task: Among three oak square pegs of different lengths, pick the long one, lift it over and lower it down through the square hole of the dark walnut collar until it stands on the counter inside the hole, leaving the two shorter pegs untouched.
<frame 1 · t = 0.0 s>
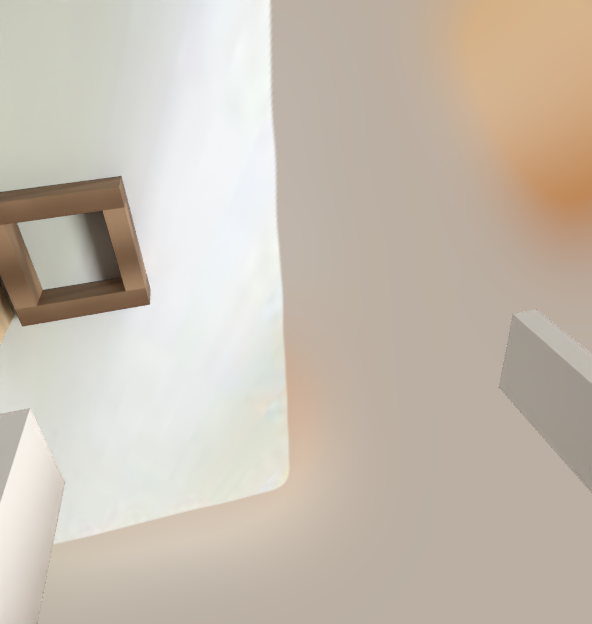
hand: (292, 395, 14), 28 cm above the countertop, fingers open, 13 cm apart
collar block: (73, 246, 39), on the countertop
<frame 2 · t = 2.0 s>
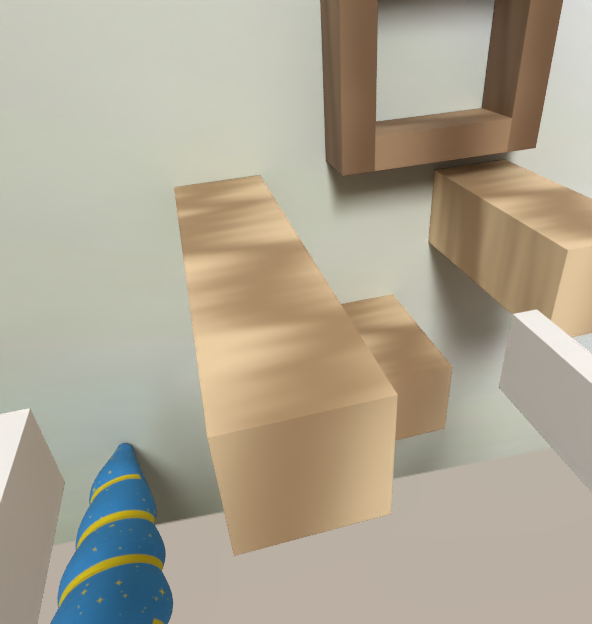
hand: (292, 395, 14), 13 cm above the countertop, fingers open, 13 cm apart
long pin: (223, 221, 25), on the countertop
medium pin: (465, 201, 27), on the countertop
collar block: (425, 39, 22), on the countertop
ornament: (121, 443, 30), on the countertop
short pin: (359, 329, 30), on the countertop
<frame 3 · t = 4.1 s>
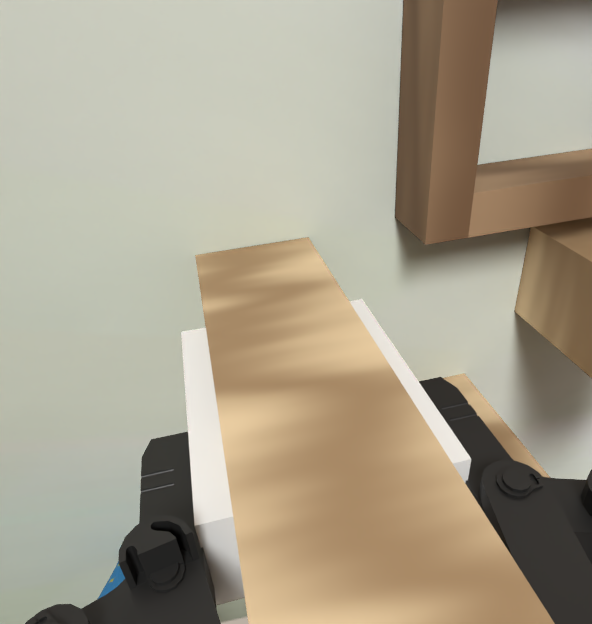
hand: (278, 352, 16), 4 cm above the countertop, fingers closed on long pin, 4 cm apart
long pin: (258, 295, 19), on the countertop, touching gripper
medium pin: (565, 262, 21), on the countertop
collar block: (537, 58, 17), on the countertop
ornament: (124, 551, 25), on the countertop
short pin: (421, 414, 24), on the countertop
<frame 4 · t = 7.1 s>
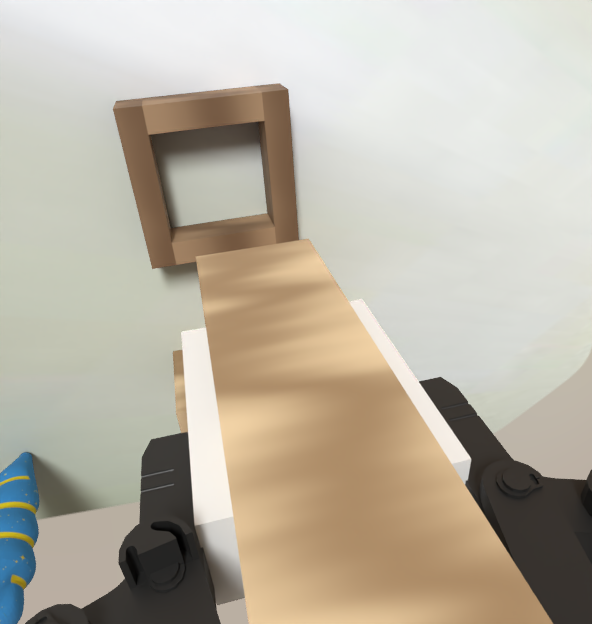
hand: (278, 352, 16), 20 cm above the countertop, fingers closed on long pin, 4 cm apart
long pin: (259, 296, 19), point 16 cm above the countertop, touching gripper
collar block: (212, 172, 32), on the countertop
ornament: (24, 452, 40), on the countertop
short pin: (203, 366, 40), on the countertop
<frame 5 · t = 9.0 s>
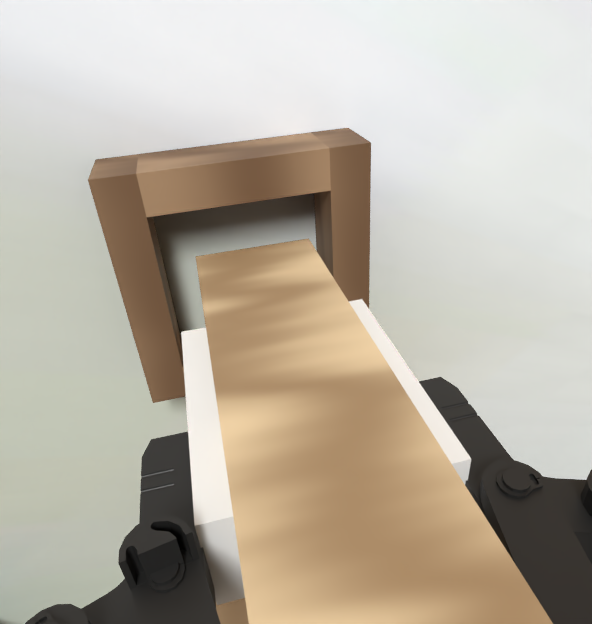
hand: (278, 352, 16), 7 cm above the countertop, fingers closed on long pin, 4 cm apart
long pin: (259, 296, 19), point 3 cm above the countertop, touching gripper
collar block: (242, 257, 21), on the countertop
short pin: (223, 500, 29), on the countertop
when the fingers open (5 cm above the countertop, at t = 10.6 s): long pin stays where it is, resting in collar block.
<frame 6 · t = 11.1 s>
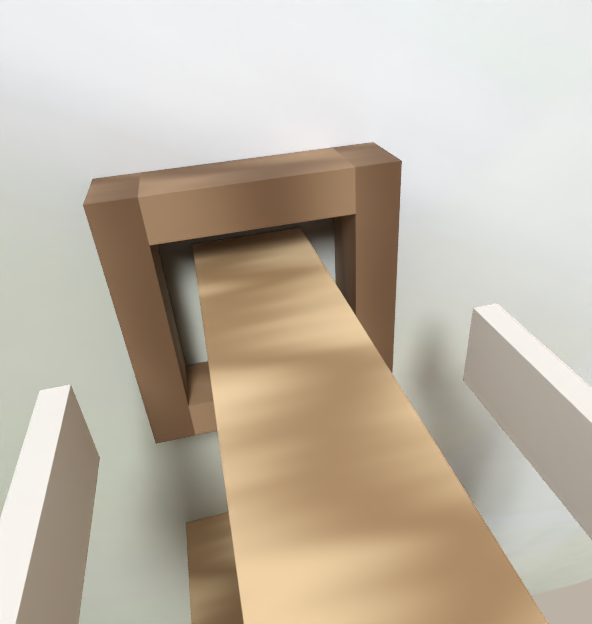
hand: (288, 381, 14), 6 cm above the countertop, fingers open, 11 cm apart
long pin: (253, 283, 20), resting in collar block
collar block: (254, 283, 20), on the countertop
short pin: (230, 536, 27), on the countertop
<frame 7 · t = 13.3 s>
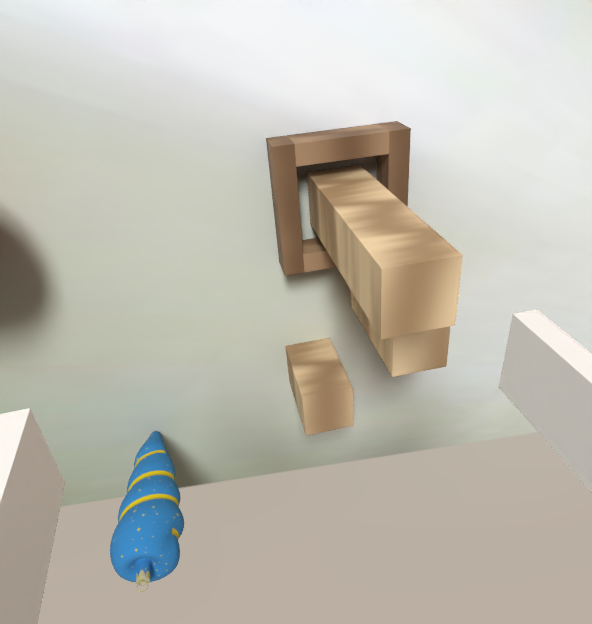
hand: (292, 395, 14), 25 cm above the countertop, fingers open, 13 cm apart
long pin: (334, 195, 38), resting in collar block
medium pin: (373, 281, 43), on the countertop
collar block: (335, 194, 38), on the countertop
ornament: (153, 431, 47), on the countertop
short pin: (309, 359, 46), on the countertop
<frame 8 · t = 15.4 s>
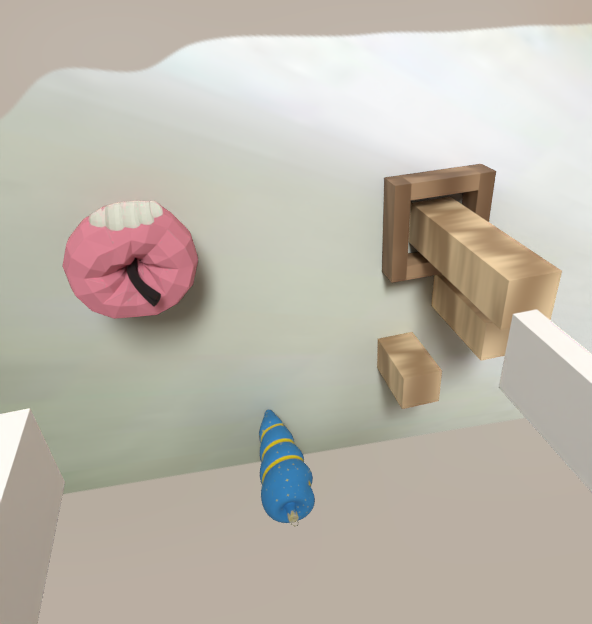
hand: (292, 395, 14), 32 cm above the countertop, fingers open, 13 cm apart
long pin: (429, 219, 49), resting in collar block
medium pin: (450, 286, 54), on the countertop
collar block: (429, 219, 49), on the countertop
apple: (136, 232, 43), on the countertop
ornament: (266, 410, 57), on the countertop
short pin: (394, 350, 56), on the countertop
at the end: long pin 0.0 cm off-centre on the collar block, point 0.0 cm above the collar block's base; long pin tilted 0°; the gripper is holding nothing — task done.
